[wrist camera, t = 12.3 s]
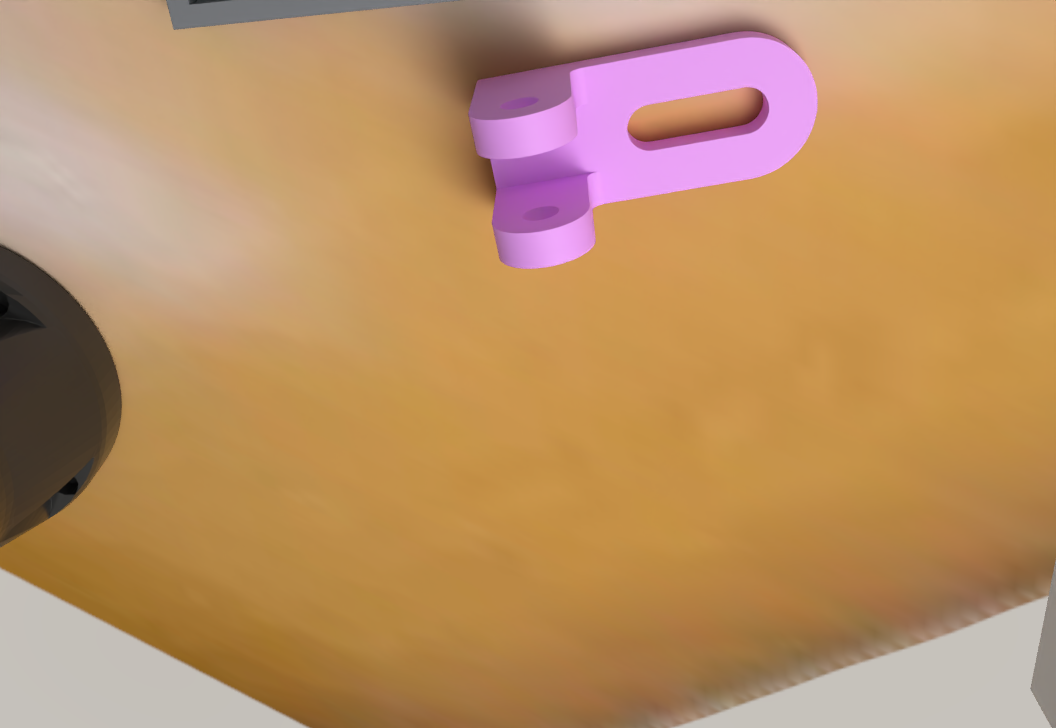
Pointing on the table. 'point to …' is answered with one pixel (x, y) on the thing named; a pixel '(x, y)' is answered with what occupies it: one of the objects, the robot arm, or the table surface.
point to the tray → (267, 9)
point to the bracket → (627, 135)
